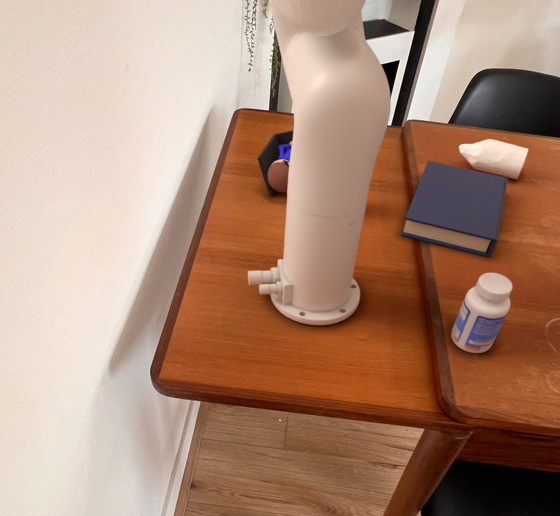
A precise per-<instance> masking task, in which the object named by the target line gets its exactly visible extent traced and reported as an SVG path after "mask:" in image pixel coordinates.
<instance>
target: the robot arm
mask: <svg viewBox="0 0 560 516" xmlns="http://www.w3.org/2000/svg"><path fill="white" fill-rule="evenodd" d="M366 2H367V0H268V4H269V8H270V12H271V16H272V21H273V26H274V30H275V35H276V38H277V44H278V47H279V52H280V56H281V59H282V65H283V70H284V74H285V78H286V81H287V86H288V90H289V93H290V98H291V102H292V106H293V130H294V132H293V141H292V148H291V154H290V163H289V174H288V189H287V192H286V194H287V195H286V210H285V223H284V224H285V225H284V226H285V227H284V242H283V255H282V256H283V257H282V258H280V259H277V266H274V267H270V270H268V269H267V270H260V269H257V270H248V271H247V281H248V285H249V286H258V291H259V295H260V296H261V295H269V296H270V300H271V302H272V304H273V306H274V307H275V309H277V311H278V312H279V313H281V314H282V315H284V316H285V317H286V318H287V319H290V320H292V321H294V322H298V323H301V324H305V325H310V326H327V325H328V326H329V325H333V324H337V323H339V322H342V321H345V320H346V319H348V318H349V317H351V316H352V315H353V314H354V313H355V312H356V310H357V309H358V306H359V304H360V300H361V290H360V286H359V284H358V282H357V281H356V279H355V278H354V277H353V275H354V271H355V270H354V269H355V265H356V259H357V255H358V250H359V244H360V240H361V239H360V238H361V234H362V229H363V223H364V219H365V213H366V209H367V203H368V197H369V191H370V186H371V181H372V177H373V173H374V168H375V166H376V165H375V164H376V161H377V156H378V155H379V151H380V149H381V146H382V143H383V140H384V137H385V134H386V132H387V128H388V124H389V120H390V117H391V116H390V114H391V102H392V101H391V90H390V85H389V80H388V78H387V74H386V72H385V70H384V68H383V65H382V64H381V62H380V60H379V58H378V57H377V56H376V54H375V52H374V51H373V49H372V47H371V46H370V45H369V43H368V41H367V40H366V36H365V30H364V29H365V28H364V23H363V22H364V21H363V13H362V10H363V8H364V6H365V3H366Z"/></svg>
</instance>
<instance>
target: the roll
mask: <svg viewBox="0 0 560 516" xmlns="http://www.w3.org/2000/svg"><path fill="white" fill-rule="evenodd" d="M458 149H459V154H460V155H461V156H462V157H463V158H464V159H465V160H466V162H468V164H470V166H471V168H473V169H474V170H475V171H479V172H482V173H487V174H492V175H496V176H501V177H505V178H508V179H512V180H518V178H519V176H520V174H521V171H522V169H523V167H524V164H525V162H526V158H527V156H528V154H529V148H527V147H523V146H519V145H516V144H512V143H507V142H505V141H500V140H496V139H494V138H493V139H492V138H487V139H484V140H481V141H478V142H474V143H461V144H460V145H459V146H458Z"/></svg>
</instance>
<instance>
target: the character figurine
mask: <svg viewBox="0 0 560 516" xmlns="http://www.w3.org/2000/svg"><path fill="white" fill-rule="evenodd" d="M293 132H294V129H292V130H287V131H283V132H278V133H273V135H272V136H271V137H270V139H269V141H268V142H267V143H266V145H265V146H264V148H263V149H262V151H261V152H260V153H259V155H258V156H257V162H258V165H259V168H260V171H261V174H262V177H263V180H264V183H265V186H266V190H267V192H268V195H269V197H270V196H271V197H272V196H274V194H275V192H279V193H287V189H288V174H289V163H290V154H291V148H292V141H293Z"/></svg>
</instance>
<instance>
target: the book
mask: <svg viewBox="0 0 560 516" xmlns="http://www.w3.org/2000/svg"><path fill="white" fill-rule="evenodd" d="M508 180H509V178H508V177H504V176H499V175H496V174H492V173H487V172H483V171H479V170H473V169H470V168H469V169H468V168H465V167H464V168H463V167H459V166H455V165H450V164H447V163H446V164H445V163H441V162H436V161H431V160H427V162H426V165H425V167H424V170H423V173H422V174H421V178H420V180H419V182H418V185H417V188H416V190H415V193H414V195H413V198H412V201H411V203H410V205H409V208H408V211H407V212H406V215H405V218H404V220H405V223H404V226H403V228H402V231H401V234H400V237H405V238H408V239H412V240H416V241H420V242H425V243H429V244H433V245H435V246H440V247H444V248H448V249H453V250H456V251H459V252H464V253H468V254H471V255H476V256H481V257H484V258H491V256H492V253H493V251H494V248H495V246H496V243H497V241H498V237H499V232H500V226H501V220H502V215H503V214H502V213H503V209H504V203H505V198H506V193H507V192H506V191H507V186H508V182H509V181H508Z"/></svg>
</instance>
